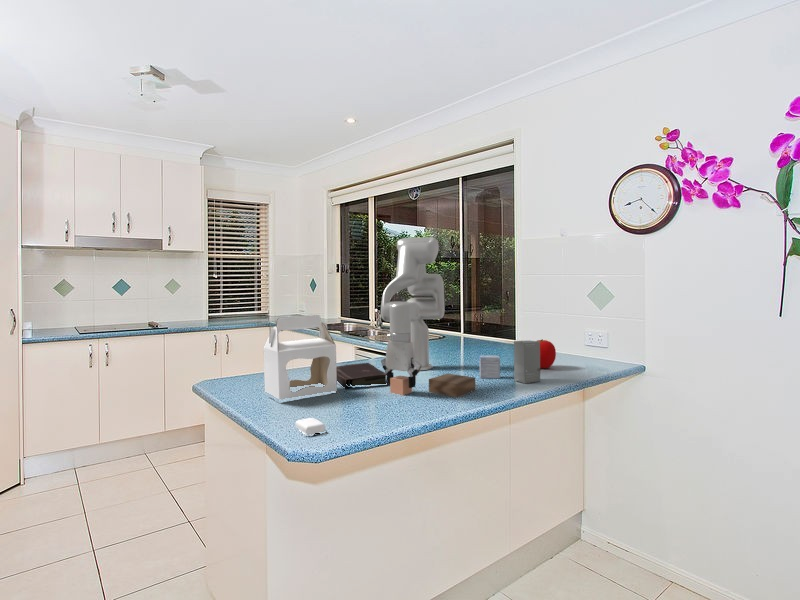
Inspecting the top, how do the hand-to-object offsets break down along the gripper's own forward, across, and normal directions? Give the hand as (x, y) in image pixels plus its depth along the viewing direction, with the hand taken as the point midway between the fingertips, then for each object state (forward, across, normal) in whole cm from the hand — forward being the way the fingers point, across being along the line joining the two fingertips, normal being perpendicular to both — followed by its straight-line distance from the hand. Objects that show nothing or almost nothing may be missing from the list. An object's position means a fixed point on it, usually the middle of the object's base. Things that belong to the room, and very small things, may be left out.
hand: (400, 385), depth 172 cm
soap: (+4, +4, -47) cm, 48 cm away
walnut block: (+3, +14, +12) cm, 19 cm away
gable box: (+3, -28, -22) cm, 36 cm away
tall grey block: (+2, +30, +42) cm, 52 cm away
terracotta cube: (+3, 0, 0) cm, 3 cm away
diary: (+3, -26, +6) cm, 27 cm away
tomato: (+2, +26, +70) cm, 75 cm away
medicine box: (+2, +15, +40) cm, 43 cm away
